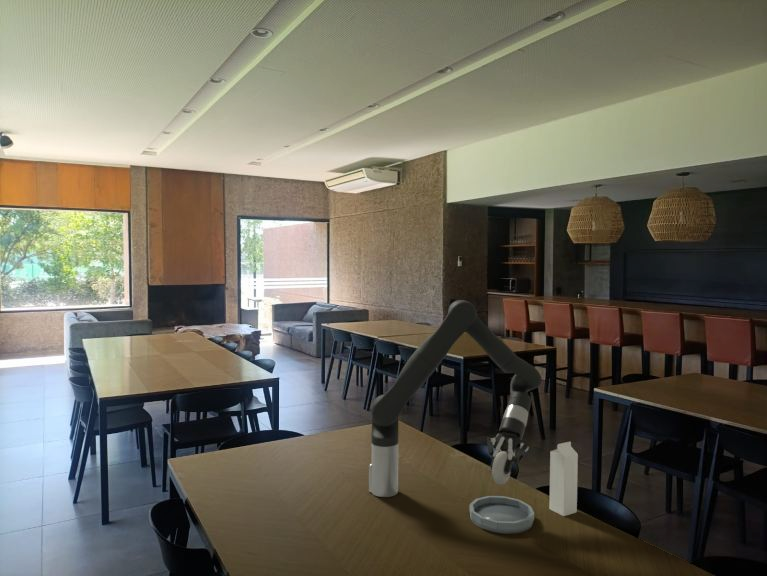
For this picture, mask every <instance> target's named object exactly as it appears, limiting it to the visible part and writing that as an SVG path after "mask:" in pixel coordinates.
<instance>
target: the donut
mask: <svg viewBox="0 0 767 576" xmlns="http://www.w3.org/2000/svg"><path fill="white" fill-rule="evenodd" d="M507 460H508V452H505V451H501V452H499V453H498V454H497V455H496V457H495V459H494V462H493V467H492V469H491V470H492V471H491V472H492V478H493V481H494V482H495V484H498V485H502V486H503V485H504V484H506V483H507V482H508V480H509V479H510V476H511V474H512V472H511V471H512V470H511V471H510V473H508V474H505V472H504V468H505V465H506V461H507Z"/></svg>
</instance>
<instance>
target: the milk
mask: <svg viewBox="0 0 767 576" xmlns="http://www.w3.org/2000/svg"><path fill="white" fill-rule="evenodd" d="M556 445H557V446H556V449H554V450H551V451H550V452H549V453H550V455H549V456H550V458H549V464H550V465H549V506H548V508H549V510H550V511H552V512H554V513H556V514H558V515H560V516H562V517H566V516H569V515H572V514H576V513H577V511H578V509H577V507H578V504H577V503H578V468H579V467H578V463H579V462H578V459H579V455H578V452H577V451H576V450H575V449H574V448H573V446H572V441H566V442H562V443H558V444H556Z"/></svg>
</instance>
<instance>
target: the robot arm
mask: <svg viewBox="0 0 767 576" xmlns="http://www.w3.org/2000/svg"><path fill="white" fill-rule="evenodd" d="M477 313H478V312H477V309H476V307H475V305H474V304H473V303H472V302H470V301H468V300H464V299H458V300H454V301H453V302H451V304H450V305H449V307H448V310H447V314H446V317H444V319H443V321H442V323H441V324H440V326H438V327H437V329H436V330H435V331H433V333H432V334H431V335H430V336H428V337H427V338H426V339H425V340H423V342H422V343H421V344H420V345H419V346H418V347H417V348H416V349H415V351H414V352H413V353H412V354H411V356H410V357H409V358H408V360H407V361H406V363H405V364H404V366H403V367H402V369H401V371H400V372H399V373H398V377H397V378H396V380H395V382H394V383H393V385H392V386H391V387H390V388H389V389H388V390H387V391H386V392H385V394H380V395H379V396H378V395H377V397H375V399H374V400H373V402H372V405H371V410H370V411H371V412H370V413H371V463H370V464H369V465H368V492H369V493H371V494H372V495H373V496H376V497H380V498H390V497H394V496H396V495H397V494H398V493H399V416H400V415H401V413H402V411H403V410H404V408H405V406H406V405H407V404H408V402H409V401H410V399H411V398H412V397H413V396H414V395H415V393H416V392H418V391H419V389H421V387H422V386H423V385H424V384H425V383H426V382H427V380H428V379H429V378H431V376H432V375H433V373H434V372H435V371H436V369H437V368H438V367H439V366H440V364H441V363H442V361H443V360H444V359H445V358H446V356H447V354H448V353H449V352H450V350H451V349H452V347H453V346H454V344H455V343H456V342H457V341H458V340H459V338H460V337H462V336H463V334H464V333H466V334H467V335H469V336H470V337H471V338H472V339H473V340H474V341H475V342H476V343H477V344H478V346H479V347H480V348H481V349H482V350H483V351H484V353H485V354H486V355H487V356H488V357H489V358H490V359H491V361H493V363H495V365H496V366H497V367H498V368H499V369H501V371H502V372H504V373H506V374H508V373H509V374H510V373H511V374H514V375H513V376H512V379H511V380H510V386H509V387H510V389H509V395H510V397H509V399H508V403H507V406H506V409H505V410H504V413H503V417H502V420H501V422H500V427H499V429H498V433H497V434H496V436H495V437H492V438H491V437H490V436H488V437H486V444H487V454H488V455H489V457H490V458H491V461H490V465H489V466H490V468H491V470H492V467H493V462H494V459H495V457H496V455H497V454H498V453H499V452H501V451H505V452H507V453H508V460H507V461H506V465H505V468H504V472H505V474H508V473H510V471H512V467H513V464H514V463H515V464H516V463H517V464H520V463H521V461H522V460H523V458H525V456H526V455H527V454H528V452H529V450H530V448H529V447H530V446H529V445H528V444H527V443H524V442H523V436H524V434H525V430H526V427H527V424H528V417H529V412H530V408H531V406H532V397H531V396H530V395H529V394H528V393H529V392H531V391H533V390H535V389H537V388H539V387H540V386H541V385H542V382H543V381H542V380H543V379H542V375H541V373H540V371H539V370H538V369H537V368H535V367H534V365H532V364H531V363H528V361H526V360H524V359H523V358H521V357H519V356H517V354H516V353H515V351H513V350H512V349H511V348H510V346H508V344H506V343H505V342H504V341H503V340H502V339H501V338H500V337H499V336H498V335H496V334H495V333H494V332H493V331H492V330H491V329H490V328H489V327H488V326H487V325H486V324H485V323H484V321H482V319H481V318H480V316H478V314H477ZM495 443H496V447H495V450H494V446H495ZM518 449H519V450H518ZM517 450H518V451H517ZM516 451H517V452H516ZM510 474H511V473H510Z"/></svg>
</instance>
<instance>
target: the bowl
mask: <svg viewBox="0 0 767 576" xmlns="http://www.w3.org/2000/svg"><path fill="white" fill-rule="evenodd" d="M469 516H470V517H469V518H470V521H471V522H472V523H473V524H474V525H475V526H477V527H479V528H480V529H483V530H484V529H485V530H484V531H487V532H491V533H497V534H502V535H503V534H504V535H505V534H506V535H507V534H508V535H509V534H510V535H511V534H513V535H514V534H519V533H523V532H527V531H528V530H530V529H531V528H532V527H533V524H534V521H535V512H534V510H533V507H532V506H531V505H529V504H528V503H526V502H524V501H522V500H521V499H517V498H513V497H508V496H506V495H505V496H504V495H503V496H502V495H488V496H487V495H486V496H482V497H478V498H475V499H474V500H473V501H472V502H471V503H469Z"/></svg>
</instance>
